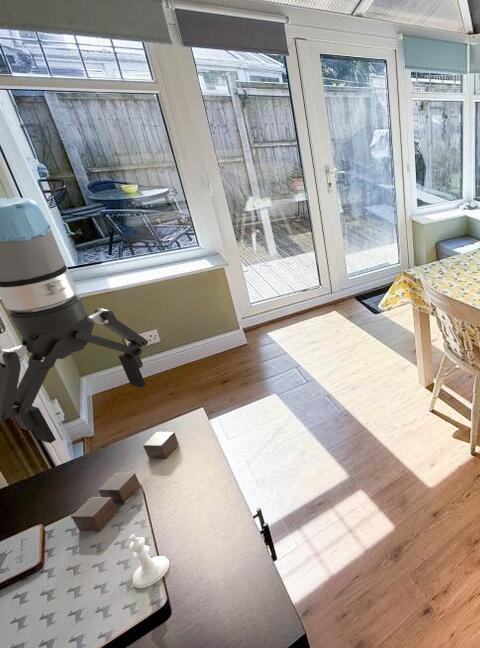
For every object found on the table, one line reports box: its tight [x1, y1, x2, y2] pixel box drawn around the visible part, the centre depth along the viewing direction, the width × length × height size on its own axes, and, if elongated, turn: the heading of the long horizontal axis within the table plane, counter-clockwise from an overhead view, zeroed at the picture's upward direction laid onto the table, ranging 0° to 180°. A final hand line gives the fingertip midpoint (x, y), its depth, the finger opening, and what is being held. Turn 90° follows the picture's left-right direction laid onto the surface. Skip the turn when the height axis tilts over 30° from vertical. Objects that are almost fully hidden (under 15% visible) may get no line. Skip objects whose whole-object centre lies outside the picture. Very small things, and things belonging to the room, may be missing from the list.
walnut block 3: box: [142, 431, 180, 460], centre depth 94 cm, size 4×4×4 cm
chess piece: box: [128, 533, 170, 589], centre depth 70 cm, size 5×5×10 cm
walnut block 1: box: [70, 496, 119, 532], centre depth 79 cm, size 4×4×4 cm
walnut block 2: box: [97, 472, 142, 505], centre depth 84 cm, size 4×4×4 cm
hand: (96, 410), depth 71 cm, fingers open, 13 cm apart
